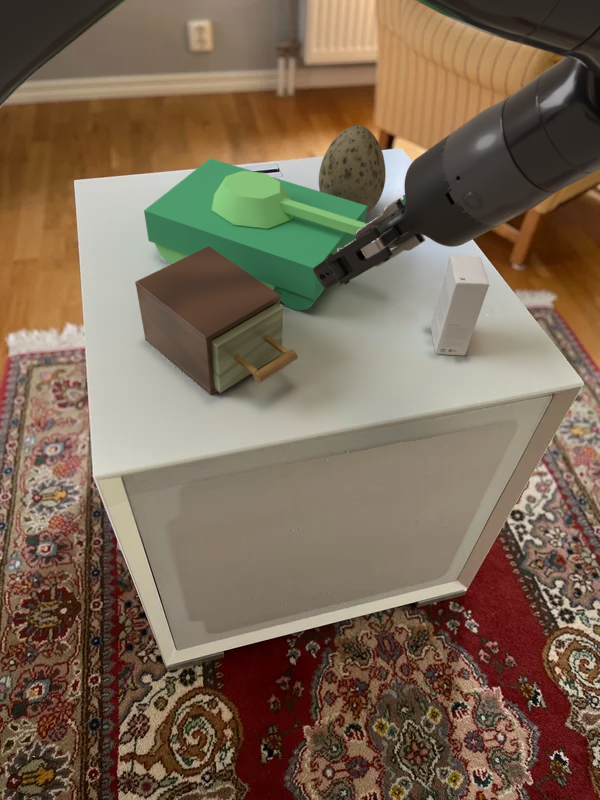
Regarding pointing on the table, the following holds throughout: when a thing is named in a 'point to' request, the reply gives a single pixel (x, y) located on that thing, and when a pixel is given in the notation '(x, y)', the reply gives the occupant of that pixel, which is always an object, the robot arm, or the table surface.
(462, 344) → the cosmetic box
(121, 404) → the table surface
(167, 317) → the cabinet
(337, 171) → the decorative egg
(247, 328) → the drawer
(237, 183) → the toy tank
